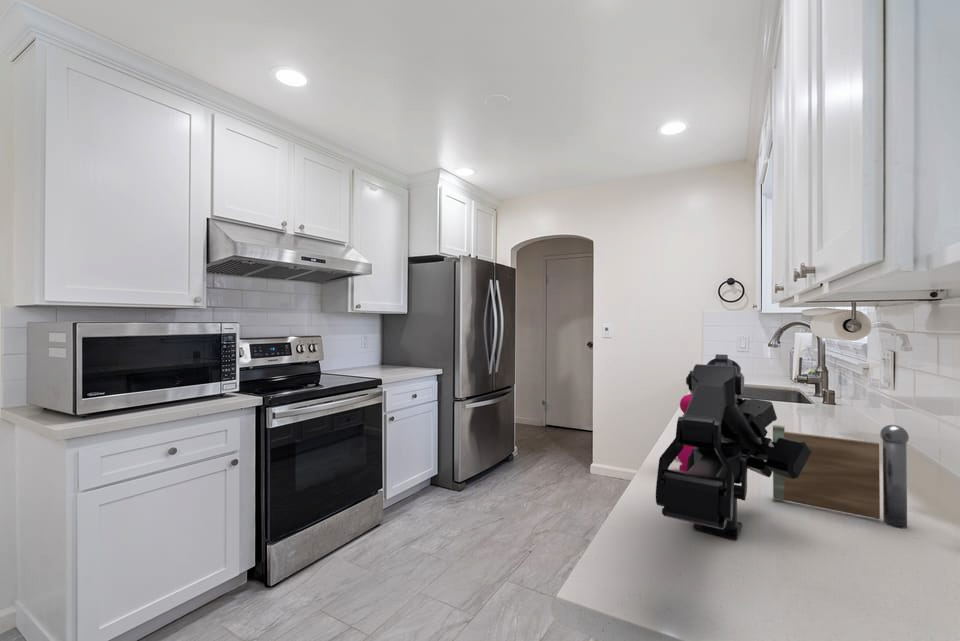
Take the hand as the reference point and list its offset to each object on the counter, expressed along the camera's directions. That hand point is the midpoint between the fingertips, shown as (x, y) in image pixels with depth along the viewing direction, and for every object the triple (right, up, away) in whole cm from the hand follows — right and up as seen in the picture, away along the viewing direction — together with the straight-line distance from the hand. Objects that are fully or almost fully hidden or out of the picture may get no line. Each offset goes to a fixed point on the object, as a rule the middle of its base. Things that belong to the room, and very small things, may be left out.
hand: (768, 474), depth 83 cm
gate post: (+18, -6, -6) cm, 20 cm away
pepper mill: (-5, -7, +19) cm, 21 cm away
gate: (+10, -6, 0) cm, 12 cm away
